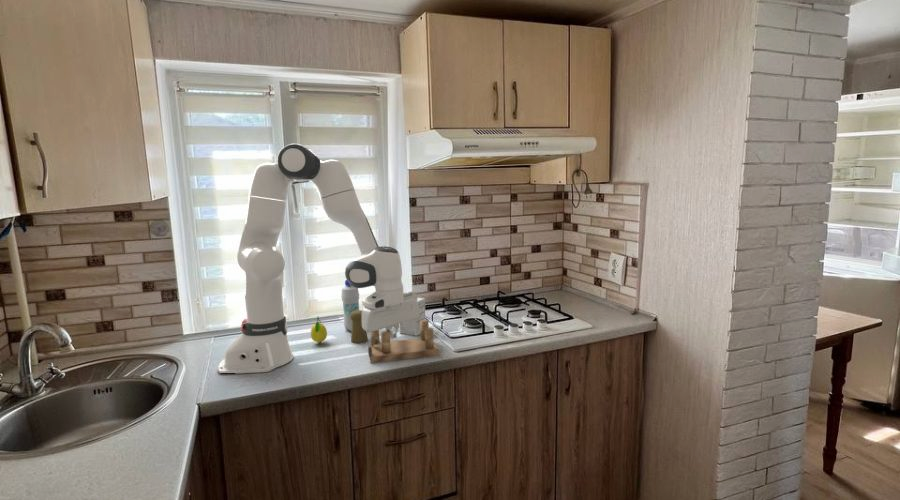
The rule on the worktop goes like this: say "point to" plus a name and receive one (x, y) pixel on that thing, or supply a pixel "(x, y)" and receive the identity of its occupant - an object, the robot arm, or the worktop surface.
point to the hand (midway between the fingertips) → (393, 337)
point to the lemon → (318, 332)
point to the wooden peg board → (405, 346)
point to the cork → (357, 328)
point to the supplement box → (414, 321)
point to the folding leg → (383, 342)
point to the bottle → (349, 303)
